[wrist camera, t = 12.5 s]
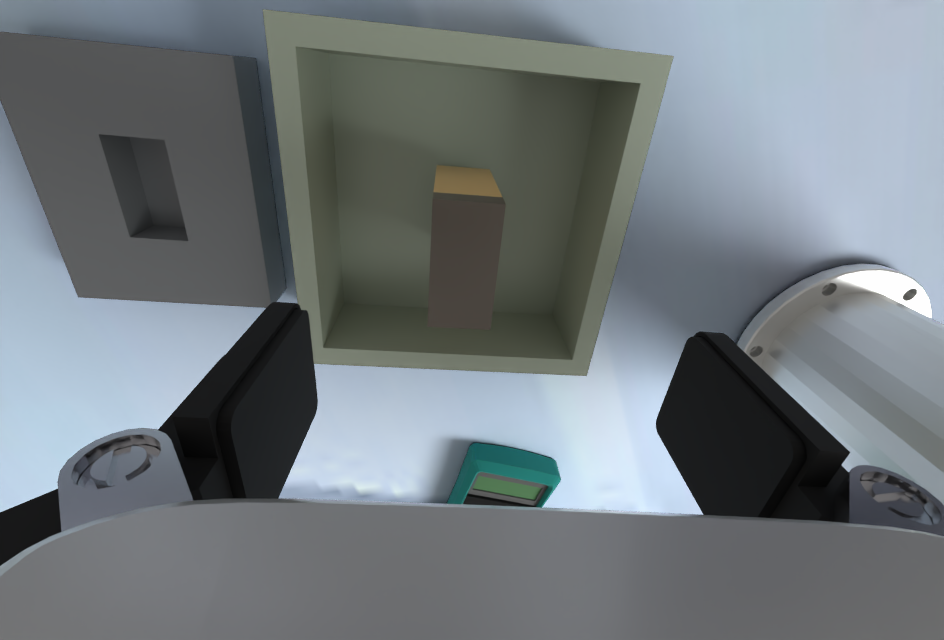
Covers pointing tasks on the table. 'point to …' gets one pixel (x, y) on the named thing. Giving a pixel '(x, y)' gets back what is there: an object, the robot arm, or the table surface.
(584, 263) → the parts tray
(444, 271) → the block
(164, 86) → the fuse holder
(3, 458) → the table surface
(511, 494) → the digital multimeter
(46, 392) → the table surface
